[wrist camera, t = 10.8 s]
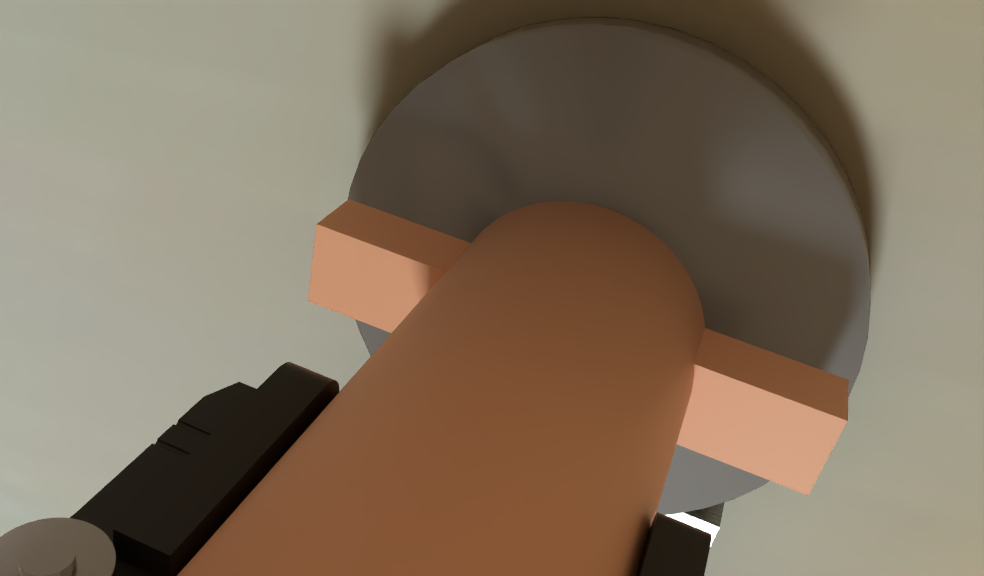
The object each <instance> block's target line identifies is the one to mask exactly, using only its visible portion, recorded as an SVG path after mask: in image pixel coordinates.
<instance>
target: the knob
mask: <svg viewBox="0 0 984 576" xmlns="http://www.w3.org/2000/svg"><path fill="white" fill-rule="evenodd" d="M308 301H310V302H313V303H315V304H318V305H320V306H323V307H325V308H328V309H331V310H333V311H336V312H338V313H341V314H343V315H346V316H349V317H351V318H354V319H356V320H359V321H361V322H364V323H367V324H369V325H372V326H374V327H377V328H379V329H382V330H384V331H387V332H390V333H391V334H390V335H389V337H388V338H387V339H386V340H385V341H384V342H383V343H382V344H381V346H380V347H379V348H378V349H377V350H376V351H375V352H374V353H373V355H372V356H371V357H370V358H369V359H368V360H367V361H366V363H365V364H364V365H363V366H362V367H361V368H360V369H359V370H358V372H357V373H356V374H355V375H354V376H353V377H352V378H351V379H350V381H349V382H348V383H347V384H346V385H345V386H344V387H343V389H342V390H341V391H340V392H339V393H338V394H337V395H336V396H335V398H334V399H333V400H332V401H331V402H330V403H329V404H328V405H327V407H326V408H325V409H324V410H323V411H322V412H321V413H320V415H319V416H318V417H317V418H316V419H315V420H314V421H313V422H312V424H311V425H310V426H309V427H308V428H307V429H306V430H305V431H304V433H303V434H302V435H301V436H300V437H299V438H298V439H297V441H296V442H295V443H294V444H293V445H292V446H291V447H290V448H289V450H288V451H287V452H286V453H285V454H284V455H283V456H282V457H281V459H280V460H279V461H278V462H277V463H276V464H275V465H274V467H273V468H272V469H271V470H270V471H269V472H268V473H267V474H266V476H265V477H264V478H263V479H262V480H261V481H260V482H259V483H258V485H257V486H256V487H255V488H254V489H253V490H252V491H251V493H250V494H249V495H248V496H247V497H246V498H245V499H244V500H243V502H242V503H241V504H240V505H239V506H238V507H237V508H236V510H235V511H234V512H233V513H232V514H231V515H230V516H229V517H228V519H227V520H226V521H225V522H224V523H223V524H222V525H221V526H220V528H219V529H218V530H217V531H216V532H215V533H214V534H213V536H212V537H211V538H210V539H209V540H208V541H207V542H206V543H205V545H204V546H203V547H202V548H201V549H200V550H199V551H198V552H197V554H196V555H195V556H194V557H193V558H192V559H191V560H190V562H189V563H188V564H187V565H186V566H185V567H184V568H183V569H182V571H181V572H180V573H179V574H178V575H177V576H636V574H637V570H638V567H639V564H640V560H641V557H642V553H643V550H644V547H645V543H646V540H647V536H648V533H649V529H650V526H651V524H652V522H653V519H654V517H655V515H656V513H657V509H658V506H659V502H660V499H661V495H662V492H663V489H664V485H665V482H666V478H667V475H668V471H669V468H670V464H671V461H672V458H673V454H674V451H675V447H676V444H677V445H680V446H683V447H685V448H688V449H690V450H693V451H695V452H698V453H700V454H703V455H706V456H708V457H711V458H713V459H716V460H718V461H721V462H724V463H726V464H729V465H731V466H734V467H736V468H739V469H742V470H744V471H747V472H749V473H752V474H754V475H757V476H760V477H762V478H765V479H767V480H770V481H772V482H775V483H778V484H780V485H783V486H785V487H788V488H790V489H793V490H796V491H798V492H801V493H803V494H806V495H809V493H810V491H811V489H812V487H813V485H814V483H815V481H816V480H817V478H818V476H819V474H820V472H821V470H822V468H823V466H824V464H825V463H826V461H827V459H828V457H829V455H830V453H831V451H832V449H833V448H834V446H835V444H836V442H837V440H838V438H839V436H840V434H841V432H842V431H843V429H844V427H845V425H846V423H847V421H848V387H849V380H848V379H845V378H842V377H839V376H837V375H834V374H831V373H828V372H825V371H823V370H820V369H817V368H814V367H812V366H809V365H806V364H803V363H801V362H798V361H795V360H792V359H790V358H787V357H784V356H781V355H778V354H776V353H773V352H770V351H767V350H765V349H762V348H759V347H756V346H754V345H751V344H748V343H745V342H743V341H740V340H737V339H734V338H732V337H729V336H726V335H723V334H720V333H718V332H715V331H712V330H709V329H707V328H705V322H704V316H703V309H702V305H701V302H700V299H699V296H698V292H697V290H696V288H695V286H694V284H693V282H692V279H691V277H690V275H689V274H688V272H687V271H686V269H685V268H684V266H683V265H682V263H681V262H680V260H679V259H678V258H677V257H676V256H675V254H674V253H673V252H672V251H671V250H670V248H669V247H668V246H666V245H665V244H664V243H663V242H662V241H661V240H660V239H659V238H658V237H657V236H656V235H654V234H653V233H652V232H650V231H649V230H647V229H646V228H645V227H643V226H642V225H640V224H639V223H637V222H635V221H633V220H631V219H630V218H628V217H626V216H624V215H622V214H619V213H617V212H614V211H612V210H609V209H607V208H603V207H599V206H596V205H592V204H587V203H580V202H573V201H552V202H542V203H536V204H532V205H528V206H524V207H521V208H519V209H516V210H514V211H511V212H509V213H507V214H505V215H503V216H502V217H500V218H498V219H496V220H495V221H494V222H492V223H491V224H490V225H489V226H487V227H486V228H485V229H484V230H483V231H482V232H481V233H480V234H479V235H478V236H477V237H476V238H475V239H474V240H473V242H472V243H469V242H466V241H464V240H461V239H458V238H455V237H453V236H450V235H447V234H444V233H441V232H439V231H436V230H433V229H430V228H428V227H425V226H422V225H419V224H417V223H414V222H411V221H408V220H406V219H403V218H400V217H397V216H395V215H392V214H389V213H386V212H383V211H381V210H378V209H375V208H372V207H370V206H367V205H364V204H361V203H359V202H356V201H353V200H350V199H348V200H347V201H346V202H345V203H343V204H342V205H341V206H339V207H338V208H337V209H336V210H334V211H333V212H332V213H330V214H329V215H328V216H327V217H325V218H324V219H323V220H321V221H320V222H319V223H318V224H317V226H316V234H315V243H314V252H313V260H312V269H311V277H310V286H309V295H308Z"/></svg>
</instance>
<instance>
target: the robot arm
mask: <svg viewBox="0 0 984 576" xmlns="http://www.w3.org/2000/svg"><path fill="white" fill-rule="evenodd" d="M338 393H339V384H338V382H337V381H335V380H333V379H330V378H328V377H325V376H323V375H320V374H318V373H315V372H313V371H310V370H308V369H306V368H303V367H301V366H298V365H296V364H293V363H291V362H287V363H284V364H283V365H281V366H280V367H279V368H278V369H277V370H276V371H275V372H274V373H273V374H272V375H271V376H270V377H269V378H268V379H267V380H266V381H265V382H264V383H263V384H262V385H261V386H260V387H258V388H257V389H255V388H253V387H250V386H248V385H245V384H243V383H241V382H238V383H235V384H233V385H231V386H228V387H226V388H224V389H221V390H219V391H216V392H214V393H212V394H209V395H207V396H204V397H203V398H202V399H201V400H200V401H199V402H198V403H196V404H195V405H194V406H193V407H192V408H191V409H190V410H189V411H188V412H187V413H185V414H184V415H183V416H182V417H181V418H180V419H179V420H178V423H177V424H176V425H174V424H173V425H172V426H171V427H170V428H169V429H168V430H167V431H166V432H165V433H163V434H162V435H161V436H160V437H159V438H158V440H157V442H156V444H155V445H154V444H151V445H150V446H149V447H148V448H147V449H146V450H145V451H144V452H142V453H141V454H140V455H139V456H138V457H137V458H136V459H135V460H134V461H133V462H131V463H130V464H129V465H128V466H127V467H126V468H125V469H124V470H123V471H122V472H120V473H119V474H118V475H117V476H116V477H115V478H114V479H113V480H112V481H111V482H109V483H108V484H107V485H106V486H105V487H104V488H103V489H102V490H101V491H100V492H98V493H97V494H96V495H95V496H94V497H93V498H92V499H91V500H90V501H88V502H87V503H86V504H85V505H84V506H83V507H82V508H81V509H80V510H79V511H77V512H76V513H75V514H74V515H73V516H71V517H70V518H48V519H41V520H37V521H33V522H29V523H26V524H24V525H21V526H19V527H16V528H15V529H13V530H11V531H9V532H7V533H6V534H4V535H3V536H1V537H0V576H177V575H178V574H179V573H180V572H181V571H182V569H183V568H184V567H185V566H186V565H187V564H188V563H189V562H190V560H191V559H192V558H193V557H194V556H195V555H196V554H197V552H198V551H199V550H200V549H201V548H202V547H203V546H204V545H205V543H206V542H207V541H208V540H209V539H210V538H211V537H212V536H213V534H214V533H215V532H216V531H217V530H218V529H219V528H220V526H221V525H222V524H223V523H224V522H225V521H226V520H227V519H228V517H229V516H230V515H231V514H232V513H233V512H234V511H235V510H236V508H237V507H238V506H239V505H240V504H241V503H242V502H243V500H244V499H245V498H246V497H247V496H248V495H249V494H250V493H251V491H252V490H253V489H254V488H255V487H256V486H257V485H258V483H259V482H260V481H261V480H262V479H263V478H264V477H265V476H266V474H267V473H268V472H269V471H270V470H271V469H272V468H273V467H274V465H275V464H276V463H277V462H278V461H279V460H280V459H281V457H282V456H283V455H284V454H285V453H286V452H287V451H288V450H289V448H290V447H291V446H292V445H293V444H294V443H295V442H296V441H297V439H298V438H299V437H300V436H301V435H302V434H303V433H304V431H305V430H306V429H307V428H308V427H309V426H310V425H311V424H312V422H313V421H314V420H315V419H316V418H317V417H318V416H319V415H320V413H321V412H322V411H323V410H324V409H325V408H326V407H327V405H328V404H329V403H330V402H331V401H332V400H333V399H334V398H335V396H336V395H337V394H338ZM710 544H711V534H710V533H708V532H705V531H703V530H700V529H698V528H695V527H693V526H690V525H688V524H686V523H683V522H681V521H678V520H676V519H673V518H671V517H668V516H666V515H663V514H661V513H658V512H657V513H656V515H655V517H654V519H653V522H652V524H651V526H650V529H649V533H648V536H647V540H646V543H645V547H644V550H643V553H642V557H641V560H640V564H639V567H638V570H637V574H636V576H704V573H705V568H706V563H707V559H708V554H709V549H710Z"/></svg>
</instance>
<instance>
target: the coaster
mask: <svg viewBox="0 0 984 576" xmlns="http://www.w3.org/2000/svg"><path fill="white" fill-rule="evenodd" d="M348 199H350V200H353V201H356V202H359V203H361V204H364V205H367V206H370V207H372V208H375V209H378V210H381V211H383V212H386V213H389V214H392V215H395V216H397V217H400V218H403V219H406V220H408V221H411V222H414V223H417V224H419V225H422V226H425V227H428V228H430V229H433V230H436V231H439V232H441V233H444V234H447V235H450V236H453V237H455V238H458V239H461V240H464V241H466V242H469V243H472V242H473V240H474V239H475V238H476V237H477V236H478V235H479V234H480V233H481V232H482V231H483V230H484V229H485V228H486V227H487V226H489V225H490V224H491V223H492V222H494V221H495V220H496V219H498V218H500V217H502V216H503V215H505V214H507V213H509V212H511V211H514V210H516V209H519V208H521V207H524V206H528V205H532V204H536V203H542V202H552V201H573V202H580V203H587V204H592V205H596V206H599V207H603V208H607V209H609V210H612V211H614V212H617V213H619V214H622V215H624V216H626V217H628V218H630V219H631V220H633V221H635V222H637V223H639V224H640V225H642V226H643V227H645V228H646V229H647V230H649V231H650V232H652V233H653V234H654V235H656V236H657V237H658V238H659V239H660V240H661V241H662V242H663V243H664V244H665V245H666V246H668V247H669V248H670V250H671V251H672V252H673V253H674V254H675V256H676V257H677V258H678V259H679V260H680V262H681V263H682V265H683V266H684V268H685V269H686V271H687V272H688V274H689V275H690V277H691V279H692V282H693V284H694V286H695V288H696V290H697V292H698V296H699V299H700V302H701V305H702V309H703V316H704V322H705V328H707V329H709V330H712V331H715V332H718V333H720V334H723V335H726V336H729V337H732V338H734V339H737V340H740V341H743V342H745V343H748V344H751V345H754V346H756V347H759V348H762V349H765V350H767V351H770V352H773V353H776V354H778V355H781V356H784V357H787V358H790V359H792V360H795V361H798V362H801V363H803V364H806V365H809V366H812V367H814V368H817V369H820V370H823V371H825V372H828V373H831V374H834V375H837V376H839V377H842V378H845V379H848V380H849V387H848V397H849V394H850V392H851V390H852V387H853V385H854V383H855V380H856V378H857V376H858V373H859V371H860V367H861V363H862V359H863V355H864V351H865V347H866V343H867V339H868V329H869V317H870V305H871V301H870V267H869V254H868V241H867V236H866V231H865V227H864V223H863V219H862V214H861V210H860V206H859V203H858V201H857V198H856V196H855V193H854V191H853V188H852V186H851V183H850V181H849V178H848V176H847V173H846V171H845V169H844V168H843V166H842V164H841V163H840V161H839V159H838V157H837V156H836V154H835V152H834V151H833V149H832V147H831V145H830V144H829V142H828V140H827V139H826V138H825V136H824V135H823V134H822V133H821V131H820V130H819V129H818V128H817V126H816V125H815V124H814V123H813V121H812V120H811V119H810V117H809V116H808V115H807V114H806V112H805V111H804V110H803V109H802V108H801V107H800V106H799V105H798V104H797V103H796V102H795V101H794V100H792V99H791V98H790V97H789V96H788V95H787V94H786V93H785V92H784V91H783V90H782V89H781V88H780V87H779V86H778V85H777V84H776V83H774V82H773V81H771V80H770V79H769V78H767V77H766V76H765V75H763V74H762V73H760V72H759V71H758V70H756V69H755V68H754V67H752V66H751V65H749V64H748V63H747V62H745V61H744V60H742V59H740V58H738V57H736V56H734V55H732V54H731V53H729V52H727V51H725V50H723V49H721V48H719V47H718V46H716V45H714V44H712V43H710V42H707V41H705V40H702V39H699V38H697V37H694V36H691V35H689V34H686V33H683V32H681V31H678V30H675V29H672V28H667V27H663V26H659V25H654V24H650V23H646V22H641V21H636V20H626V19H615V18H604V17H593V18H570V19H560V20H555V21H549V22H544V23H539V24H533V25H529V26H526V27H523V28H520V29H517V30H514V31H511V32H508V33H505V34H502V35H499V36H496V37H494V38H492V39H490V40H489V41H487V42H485V43H483V44H481V45H479V46H477V47H475V48H473V49H471V50H469V51H467V52H466V53H464V54H462V55H461V56H459V57H458V58H456V59H455V60H453V61H451V62H450V63H448V64H447V65H445V66H444V67H442V68H441V69H439V70H438V71H437V72H435V73H434V74H432V75H431V76H430V77H428V78H427V79H425V80H424V81H423V82H421V83H420V84H418V85H417V86H416V87H415V88H414V89H413V90H412V91H411V92H410V93H409V94H408V95H407V96H406V97H405V98H403V99H402V100H401V101H400V102H399V103H398V104H397V105H396V106H395V107H394V108H393V110H392V111H391V112H390V114H389V115H388V116H387V118H386V119H385V120H384V121H383V123H382V124H381V125H380V127H379V128H378V129H377V131H376V132H375V134H374V136H373V137H372V139H371V141H370V143H369V145H368V147H367V148H366V150H365V152H364V154H363V156H362V158H361V160H360V162H359V165H358V168H357V171H356V173H355V176H354V179H353V182H352V184H351V187H350V192H349V197H348ZM356 322H357V325H358V328H359V331H360V333H361V335H362V338H363V340H364V342H365V344H366V346H367V349H368V351H369V353H370V355H371V356H372V355H373V353H374V352H375V351H376V350H377V349H378V348H379V347H380V346H381V344H382V343H383V342H384V341H385V340H386V339H387V338H388V337H389V335H390V334H391V333H390V332H387V331H384V330H382V329H379V328H377V327H374V326H372V325H369V324H367V323H364V322H361V321H359V320H356ZM769 481H770V480H767V479H765V478H762V477H760V476H757V475H754V474H752V473H749V472H747V471H744V470H742V469H739V468H736V467H734V466H731V465H729V464H726V463H724V462H721V461H718V460H716V459H713V458H711V457H708V456H706V455H703V454H700V453H698V452H695V451H693V450H690V449H688V448H685V447H683V446H680V445H677V444H676V447H675V451H674V454H673V458H672V461H671V464H670V468H669V471H668V475H667V478H666V482H665V485H664V489H663V492H662V495H661V499H660V502H659V506H658V509H657V512H658V513H661V514H663V515H671V514H678V513H683V512H689V511H694V510H699V509H704V508H707V507H711V506H714V505H717V504H720V503H723V502H726V501H730V500H733V499H735V498H737V497H739V496H741V495H744V494H746V493H748V492H750V491H752V490H754V489H757V488H759V487H761V486H762V485H764V484H766V483H767V482H769Z"/></svg>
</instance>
